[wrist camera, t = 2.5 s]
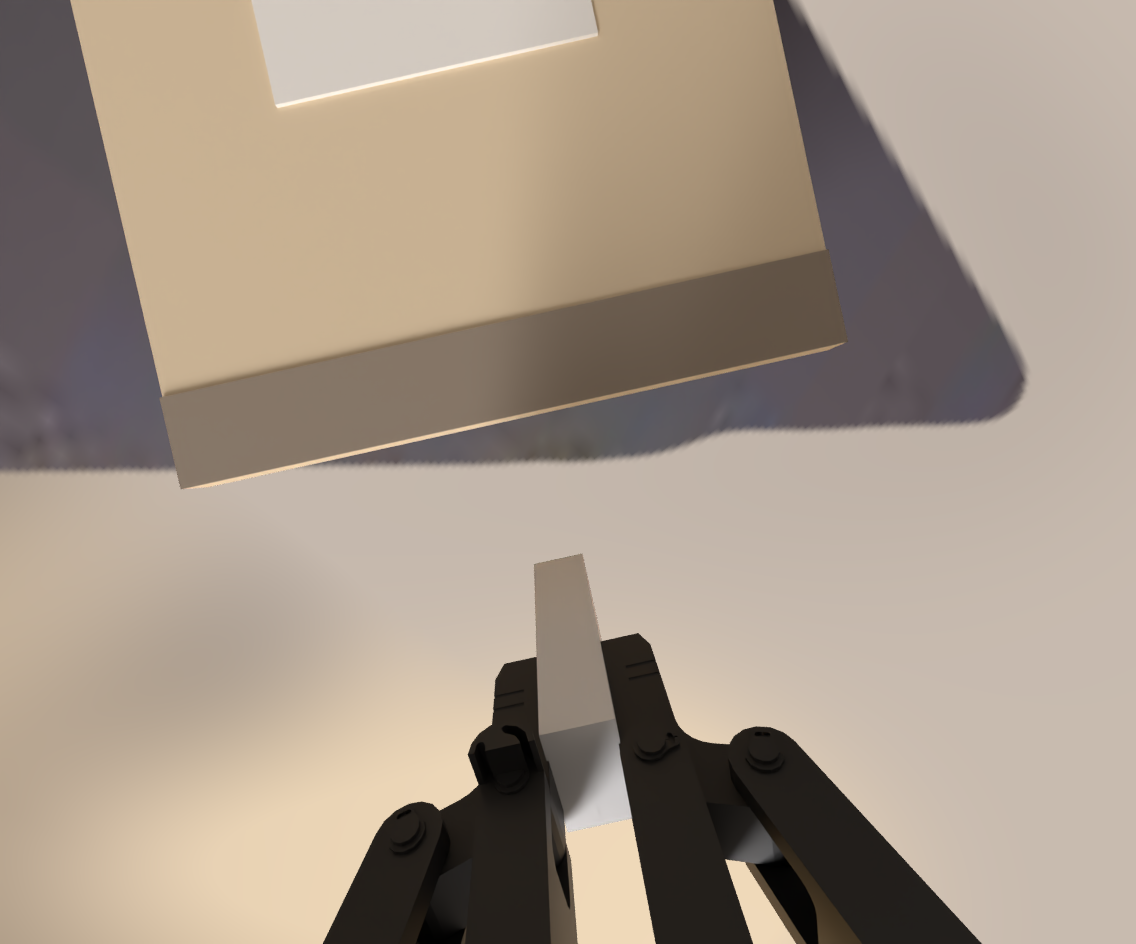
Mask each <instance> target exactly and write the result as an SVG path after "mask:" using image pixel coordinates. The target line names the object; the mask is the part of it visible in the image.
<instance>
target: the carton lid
mask: <svg viewBox="0 0 1136 944" xmlns="http://www.w3.org/2000/svg"><path fill="white" fill-rule="evenodd" d="M71 5H72V9H73V13H74V18H75V22H76V26H77V30H78V35H79V39H80V43H81V48H82V52H83V56H84V61H85V65H86V69H87V73H88V78H89V82H90V86H91V91H92V95H93V99H94V104H95V108H96V112H97V117H98V121H99V125H100V129H101V134H102V138H103V142H104V147H105V151H106V155H107V160H108V164H109V168H110V172H111V177H112V181H113V185H114V190H115V194H116V198H117V203H118V207H119V211H120V216H121V220H122V224H123V228H124V233H125V237H126V241H127V246H128V250H129V254H130V259H131V263H132V267H133V271H134V276H135V280H136V284H137V289H138V293H139V297H140V302H141V306H142V310H143V315H144V319H145V323H146V327H147V332H148V336H149V340H150V345H151V349H152V353H153V358H154V362H155V366H156V370H157V375H158V379H159V383H160V388H161V392H162V396H163V397H161V398H160V402H161V406H162V411H163V415H164V419H165V423H166V428H167V432H168V436H169V441H170V445H171V449H172V454H173V458H174V462H175V466H176V471H177V475H178V479H179V484H180V487H181V489H190V488H205V487H212V486H216V485H221V484H225V483H229V482H234V481H239V480H243V479H248V478H253V477H257V476H262V475H266V474H270V473H275V472H279V471H284V470H289V469H293V468H298V467H302V466H307V465H311V464H316V463H320V462H325V461H329V460H334V459H338V458H343V457H347V456H352V455H356V454H361V453H365V452H370V451H375V450H379V449H384V448H388V447H393V446H397V445H402V444H406V443H411V442H415V441H420V440H424V439H429V438H433V437H438V436H442V435H447V434H451V433H456V432H460V431H465V430H469V429H474V428H478V427H483V426H487V425H492V424H496V423H501V422H506V421H510V420H515V419H519V418H524V417H528V416H533V415H537V414H542V413H546V412H551V411H555V410H560V409H564V408H569V407H573V406H578V405H582V404H587V403H591V402H596V401H600V400H605V399H609V398H614V397H618V396H623V395H628V394H632V393H637V392H641V391H646V390H650V389H655V388H659V387H664V386H668V385H673V384H677V383H682V382H686V381H691V380H695V379H700V378H704V377H709V376H713V375H718V374H722V373H727V372H731V371H736V370H740V369H745V368H750V367H754V366H759V365H763V364H768V363H772V362H777V361H781V360H786V359H790V358H795V357H799V356H804V355H808V354H813V353H817V352H822V351H826V350H829V349H832V348H834V347H836V346H839V345H841V344H843V343H846V342H848V340H847V335H846V330H845V326H844V321H843V316H842V312H841V307H840V302H839V297H838V293H837V288H836V283H835V279H834V274H833V269H832V264H831V260H830V255H829V250H828V249H827V250H826V248H825V243H824V239H823V234H822V229H821V225H820V220H819V215H818V210H817V206H816V201H815V196H814V192H813V187H812V182H811V177H810V173H809V168H808V163H807V159H806V154H805V149H804V144H803V140H802V135H801V130H800V125H799V121H798V116H797V111H796V107H795V102H794V97H793V92H792V88H791V83H790V78H789V74H788V69H787V64H786V59H785V55H784V50H783V45H782V41H781V36H780V31H779V26H778V22H777V17H776V12H775V7H774V3H773V0H71Z"/></svg>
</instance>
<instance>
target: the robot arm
mask: <svg viewBox="0 0 1136 944" xmlns="http://www.w3.org/2000/svg"><path fill="white" fill-rule="evenodd" d="M534 578H535V613H536V647H537V657H534V658H529V659H525V660H521V661H516V662H511V663H506V664H504V666H503V667H502V669H501V671H500V673H499V675H498V677H497V678H496V680H495V693H494V696H495V699H494V707H493V710H494V713H493V721H492V725H491V726H489V727H488V728H486V729H485V730H484V731H482V732H481V733H480V734H479V735H478V736H477V737H476V739H475V740H474V741H473V742H472V744H471V747H470V750H469V753H468V757H469V759H470V762H471V765H472V768H473V770H474V773H475V776H476V778H477V781H478V784H479V785H478V786H477V787H476V788H475V789H474V790H473V791H472V792H471V793H470V794H468V795H467V796H465V797H464V798H462V799H461V800H459V801H457V802H455V803H453V804H451V805H449V806H448V807H446V808H444V809H442V810H440V811H439V810H438V809H437V808H436V807H435V806H434V805H433V804H430V803H426V802H417V803H411V804H408V805H406V806H404V807H402V808H400V809H399V810H396V811H395V812H394V813H393V814H392V815H391V816H390V817H389V818H387V819H386V820H385V821H384V823H383V824H382V826H381V827H380V829H379V830H378V832H377V833H376V835H375V837H374V839H373V841H372V843H371V845H370V847H369V850H368V852H367V854H366V856H365V858H364V860H363V862H362V864H361V866H360V868H359V870H358V872H357V874H356V876H355V878H354V880H353V883H352V884H351V887H350V889H349V891H348V893H347V895H346V897H345V899H344V901H343V903H342V905H341V907H340V909H339V911H338V914H337V916H336V918H335V920H334V922H333V924H332V926H331V928H330V930H329V932H328V934H327V936H326V938H325V940H324V942H323V944H578V943H577V932H576V931H577V930H576V918H575V906H574V893H573V880H572V868H571V859H570V855H569V851H568V848H567V845H566V839H565V825H564V821H565V824H566V828H567V831H568V832H571V831H576V830H581V829H586V828H590V827H595V826H599V825H604V824H608V823H613V822H618V821H622V820H627V819H632V821H633V826H634V831H635V837H636V842H637V847H638V852H639V857H640V863H641V868H642V874H643V879H644V884H645V889H646V895H647V900H648V905H649V910H650V916H651V920H652V926H653V932H654V937H655V942H656V944H753V942H752V939H751V936H750V933H749V930H748V927H747V924H746V921H745V918H744V915H743V912H742V909H741V906H740V903H739V900H738V897H737V894H736V891H735V888H734V885H733V882H732V879H731V876H730V873H729V870H728V867H727V864H726V861H725V859H727V860H735V861H741V862H745V863H746V865H747V867H748V868H749V870H750V872H751V873H752V875H753V876H754V878H755V879H756V881H757V882H758V884H759V886H760V887H761V889H762V890H763V892H764V894H765V895H766V897H767V898H768V900H769V901H770V903H771V905H772V906H773V908H774V909H775V911H776V913H777V914H778V916H779V917H780V919H781V920H782V922H783V923H784V925H785V927H786V928H787V930H788V931H789V933H790V935H791V936H792V937H793V939H794V941H795V942H796V944H981V942H980V941H979V940H978V939H977V938H976V937H975V936H974V935H973V934H972V933H971V932H970V931H969V930H968V928H967V927H966V926H965V925H964V924H963V923H962V922H961V921H960V920H959V919H958V917H957V916H956V915H955V914H954V913H953V912H952V911H951V910H950V909H949V908H948V907H947V906H946V905H945V903H943V901H942V900H941V899H940V898H939V897H938V896H937V895H936V894H935V893H934V892H933V890H931V888H930V887H929V886H928V885H927V884H926V883H925V882H924V881H923V880H922V878H921V877H919V875H918V874H917V873H916V872H915V871H914V870H913V869H912V868H911V867H910V866H909V864H907V862H906V861H905V860H904V859H903V858H902V857H901V856H900V855H899V854H898V853H897V851H896V850H895V849H894V848H893V847H892V846H891V845H890V844H889V843H888V842H887V841H886V840H885V838H884V837H883V836H882V835H881V834H880V833H879V832H878V831H877V830H876V829H875V828H874V826H873V825H872V824H871V823H870V822H869V821H868V820H867V819H866V818H865V817H864V816H863V815H862V813H861V812H859V810H858V809H857V808H856V807H855V806H854V805H853V804H852V803H851V802H850V800H848V799H847V797H846V796H845V795H844V794H843V793H842V792H841V791H840V790H839V789H838V787H836V785H835V784H834V783H833V782H832V781H831V780H830V779H829V778H828V777H827V776H826V774H825V773H824V772H823V771H822V770H821V769H820V768H819V767H818V766H817V765H816V764H815V763H814V761H813V760H812V759H811V758H810V757H809V756H808V755H807V754H806V753H805V752H804V751H803V750H802V749H801V747H799V745H798V744H797V743H796V742H795V741H794V740H793V739H791V738H790V737H789V736H787V735H786V734H785V733H783V732H781V731H778V730H776V729H773V728H770V727H752V728H748V729H744V730H742V731H741V732H740V733H738V734H737V735H735V736H734V737H733V739H732V741H731V742H730V744H714V743H707V742H702V741H700V740H697V739H694V738H692V737H691V736H689V735H688V734H686V733H685V732H684V731H683V730H682V729H681V728H680V727H679V726H678V724H677V722H676V720H675V717H674V715H673V711H672V708H671V705H670V703H669V700H668V696H667V693H666V690H665V687H664V684H663V681H662V678H661V675H660V673H659V669H658V666H657V663H656V660H655V657H654V654H653V651H652V648H651V645H650V644H649V643H648V642H647V641H646V640H645V639H644V638H643V637H642V636H641V635H640V634H638V633H637V634H633V635H628V636H623V637H619V638H615V639H610V640H606V641H602V640H601V635H600V630H599V626H598V621H597V617H596V612H595V608H594V603H593V599H592V595H591V590H590V586H589V581H588V577H587V573H586V568H585V563H584V559H583V555H582V554H578V555H574V556H569V557H565V558H560V559H555V560H551V561H546V562H542V563H537V564H534Z"/></svg>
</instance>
